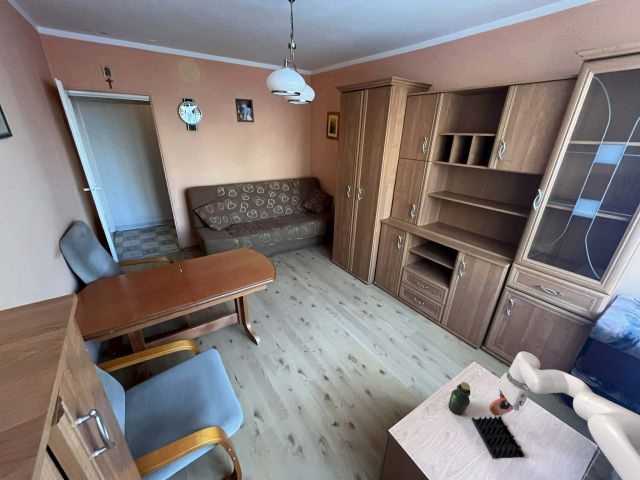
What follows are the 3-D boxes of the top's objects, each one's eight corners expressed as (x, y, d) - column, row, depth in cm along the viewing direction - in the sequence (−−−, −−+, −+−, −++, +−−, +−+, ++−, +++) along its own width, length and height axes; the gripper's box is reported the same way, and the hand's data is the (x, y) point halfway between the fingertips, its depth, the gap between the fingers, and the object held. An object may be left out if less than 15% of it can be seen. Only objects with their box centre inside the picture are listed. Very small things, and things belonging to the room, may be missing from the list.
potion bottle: (445, 412, 128) (455, 388, 120) (447, 398, 135) (456, 374, 127) (463, 421, 125) (475, 397, 117) (464, 406, 131) (475, 383, 123)
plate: (509, 415, 118) (519, 399, 113) (486, 416, 117) (495, 399, 112) (508, 413, 119) (518, 396, 114) (485, 413, 118) (493, 397, 113)
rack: (523, 458, 112) (528, 451, 110) (492, 459, 111) (496, 452, 109) (498, 419, 127) (502, 412, 124) (470, 419, 126) (474, 413, 123)
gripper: (541, 396, 101) (523, 424, 109) (513, 362, 114) (498, 389, 122) (523, 397, 100) (506, 425, 108) (496, 362, 114) (483, 389, 122)
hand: (502, 406), depth 115 cm, fingers closed on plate, 1 cm apart
